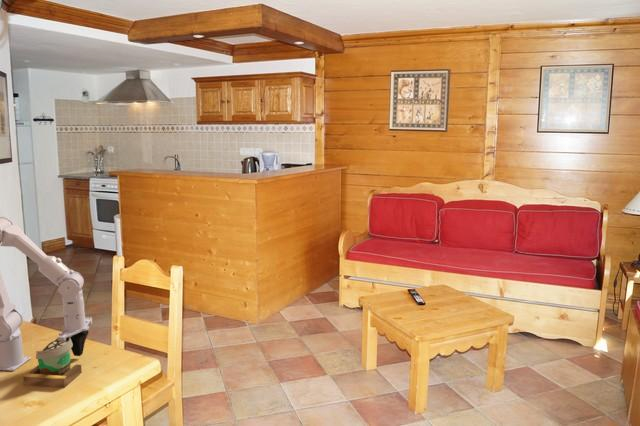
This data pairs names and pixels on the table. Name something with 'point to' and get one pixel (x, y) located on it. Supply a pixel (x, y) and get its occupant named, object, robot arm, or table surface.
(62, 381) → the dock bay
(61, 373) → the food container
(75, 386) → the table surface
